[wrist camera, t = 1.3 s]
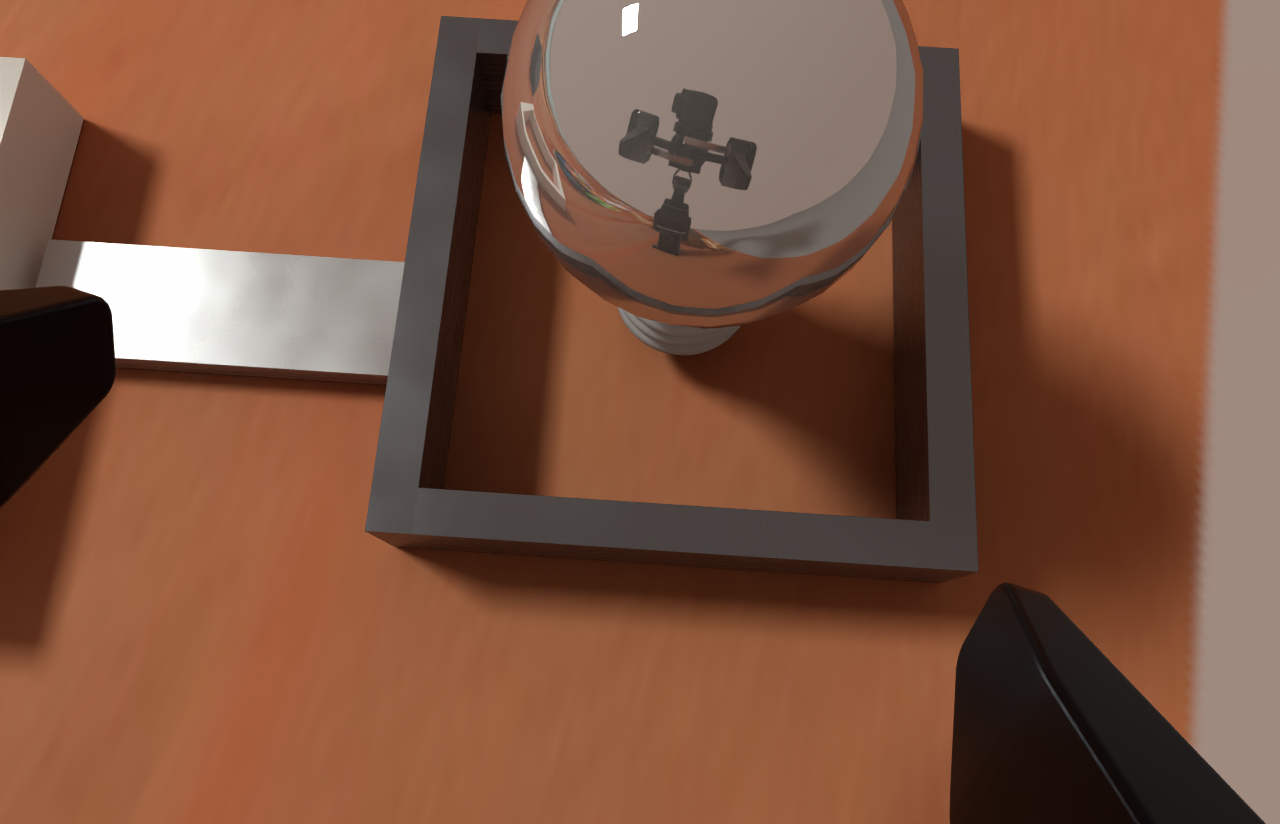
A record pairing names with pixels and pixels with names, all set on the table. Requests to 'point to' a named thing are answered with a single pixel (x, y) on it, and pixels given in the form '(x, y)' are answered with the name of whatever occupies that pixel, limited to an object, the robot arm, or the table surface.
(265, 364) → the rail strip
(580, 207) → the light bulb
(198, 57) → the table surface
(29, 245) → the collar
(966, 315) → the collar
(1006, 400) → the table surface
